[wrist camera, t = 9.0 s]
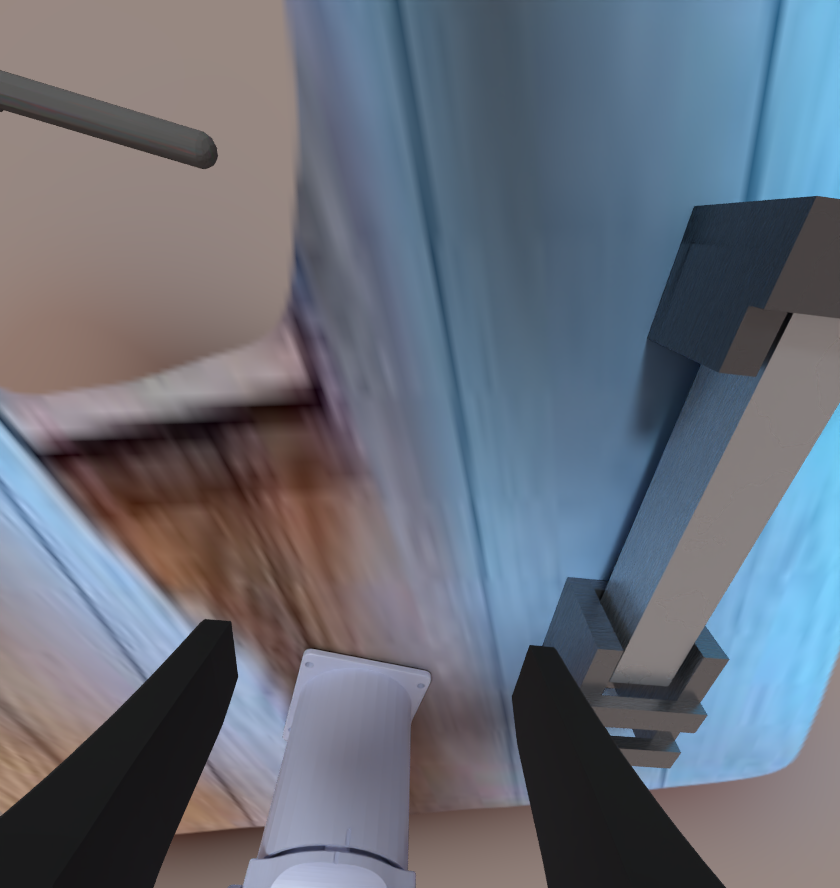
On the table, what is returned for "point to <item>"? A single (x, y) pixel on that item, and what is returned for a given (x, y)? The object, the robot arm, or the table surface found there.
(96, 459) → the table surface
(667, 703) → the sleeve
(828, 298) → the socket
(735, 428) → the rod
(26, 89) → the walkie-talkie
